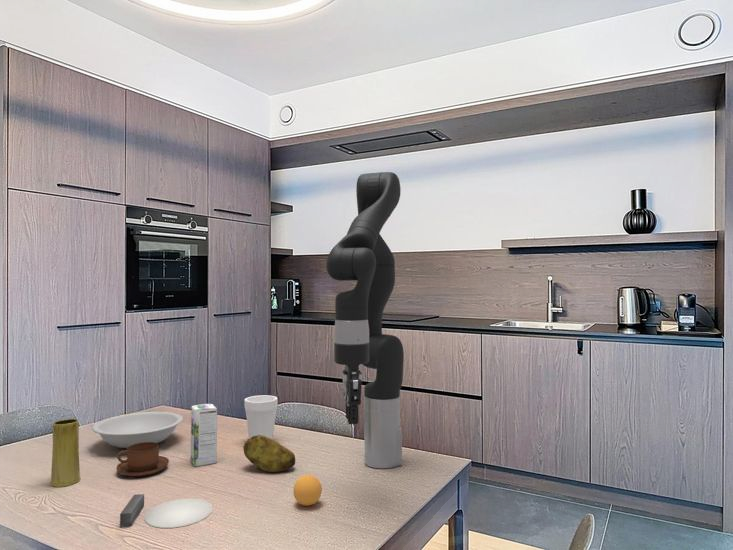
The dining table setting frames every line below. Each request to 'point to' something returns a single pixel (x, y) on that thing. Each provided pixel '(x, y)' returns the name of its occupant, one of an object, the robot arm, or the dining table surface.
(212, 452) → the syrup box
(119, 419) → the soup bowl
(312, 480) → the ball
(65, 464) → the vase
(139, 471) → the cup and saucer
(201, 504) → the white flat disc
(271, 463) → the potato
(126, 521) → the strip
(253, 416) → the foam cup
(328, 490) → the dining table surface
